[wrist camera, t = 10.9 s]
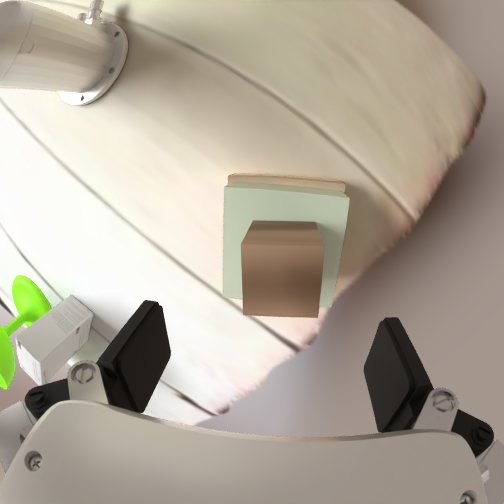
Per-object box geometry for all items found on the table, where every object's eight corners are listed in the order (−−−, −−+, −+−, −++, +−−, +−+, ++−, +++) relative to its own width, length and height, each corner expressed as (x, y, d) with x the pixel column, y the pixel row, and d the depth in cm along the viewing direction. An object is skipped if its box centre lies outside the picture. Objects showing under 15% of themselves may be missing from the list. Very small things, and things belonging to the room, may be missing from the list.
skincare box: (89, 340, 41) (44, 391, 28) (65, 321, 41) (18, 367, 27) (95, 311, 38) (40, 366, 24) (69, 290, 38) (12, 338, 24)
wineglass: (6, 269, 40) (-49, 306, 23) (45, 283, 38) (-20, 334, 22) (25, 328, 46) (-18, 369, 29) (66, 349, 44) (19, 402, 28)
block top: (233, 181, 25) (224, 187, 21) (340, 191, 24) (349, 198, 20) (231, 278, 28) (222, 296, 25) (326, 287, 27) (330, 307, 24)
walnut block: (252, 220, 22) (240, 244, 16) (315, 221, 21) (324, 246, 16) (253, 276, 24) (243, 314, 18) (311, 278, 23) (317, 317, 17)
